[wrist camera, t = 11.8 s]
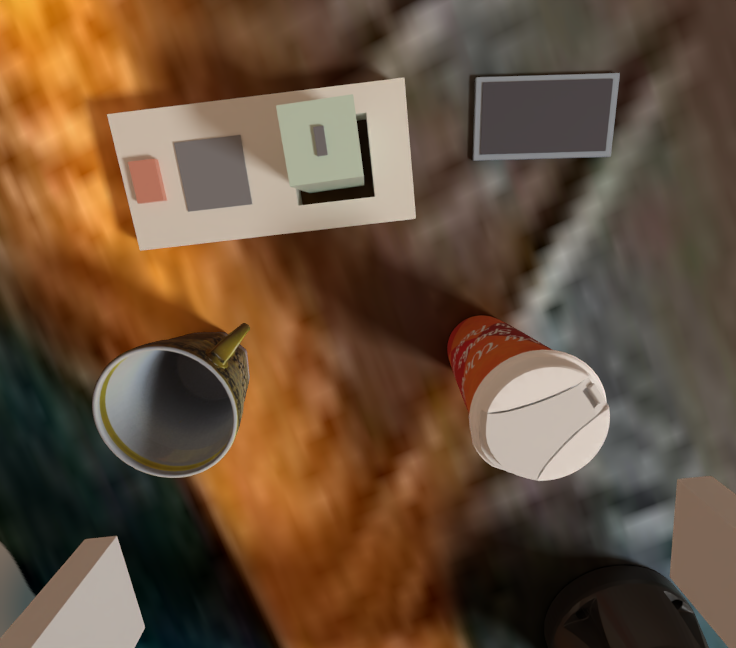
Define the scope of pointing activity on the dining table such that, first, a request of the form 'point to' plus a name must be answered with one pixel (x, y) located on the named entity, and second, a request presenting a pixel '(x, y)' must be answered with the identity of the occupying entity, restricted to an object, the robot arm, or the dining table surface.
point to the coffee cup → (527, 400)
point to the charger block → (321, 144)
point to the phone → (544, 116)
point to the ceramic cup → (174, 402)
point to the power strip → (251, 168)
